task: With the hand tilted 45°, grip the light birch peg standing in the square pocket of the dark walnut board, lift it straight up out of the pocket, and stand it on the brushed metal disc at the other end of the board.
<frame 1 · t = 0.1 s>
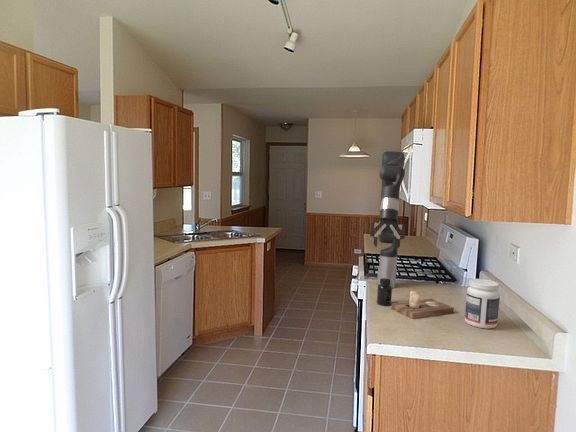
hand: (386, 247, 179), 31 cm above the table, tool tilted 20°, fingers open, 8 cm apart
supplement tub: (480, 324, 183), on the table
supplement bottle: (383, 304, 205), on the table
walnut board: (422, 310, 197), on the table
birch peg: (413, 311, 195), resting in walnut board
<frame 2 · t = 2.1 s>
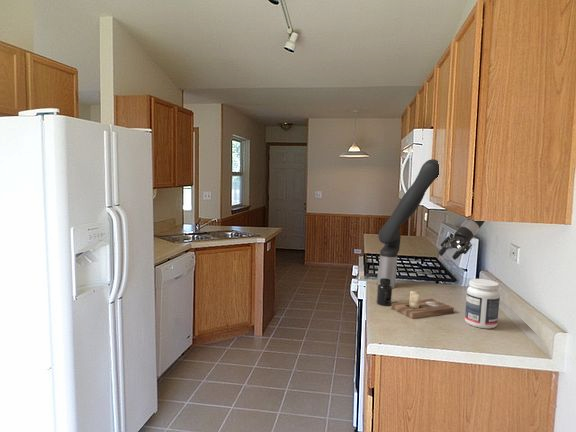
hand: (446, 256, 200), 25 cm above the table, tool tilted 45°, fingers open, 8 cm apart
nothing on the table moved.
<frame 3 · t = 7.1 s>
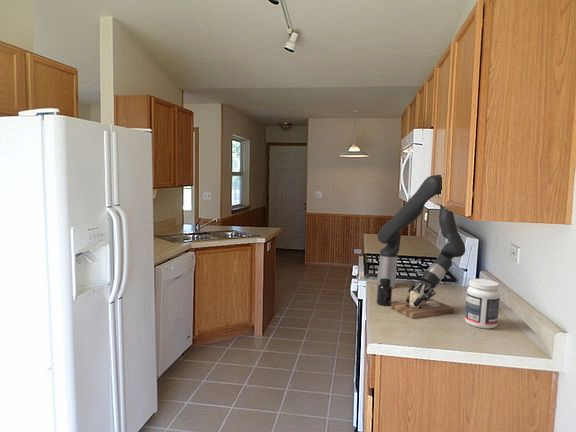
hand: (411, 303, 194), 4 cm above the table, tool tilted 45°, fingers closed on birch peg, 4 cm apart
birch peg: (413, 311, 195), resting in walnut board, touching gripper
everything else where it was.
when the fingers open (7 cm above the table, at t = 14.3 s): birch peg stays where it is, resting on walnut board.
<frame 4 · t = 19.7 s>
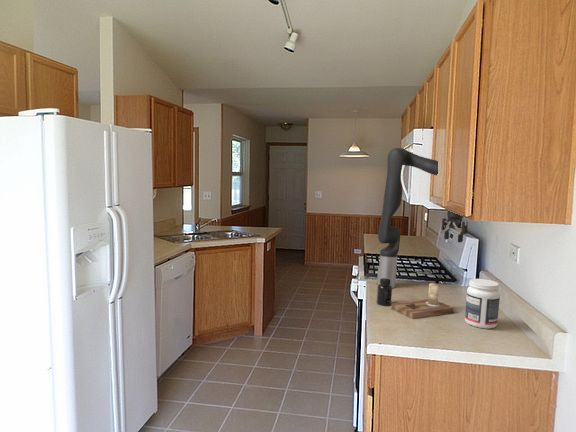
hand: (453, 240, 213), 30 cm above the table, tool pointing down, fingers open, 8 cm apart
birch peg: (432, 303, 200), point 3 cm above the table, touching walnut board
everything else where it was.
at the end: birch peg 0.1 cm from the target spot on the walnut board, point 2.7 cm above the walnut board's base; birch peg tilted 1°; the gripper is holding nothing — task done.
